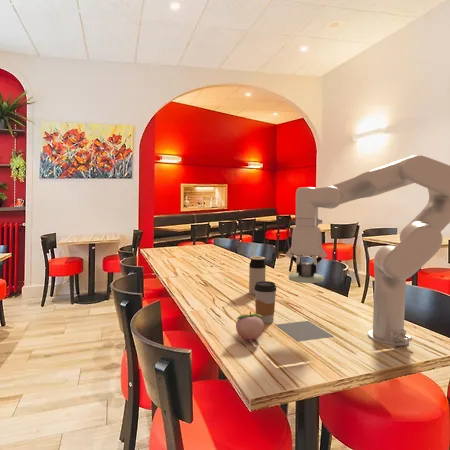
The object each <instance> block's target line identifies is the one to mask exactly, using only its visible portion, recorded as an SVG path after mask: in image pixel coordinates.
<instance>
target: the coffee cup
mask: <svg viewBox="0 0 450 450" xmlns="http://www.w3.org/2000/svg"><path fill="white" fill-rule="evenodd" d="M254 289H255V295H254V297H255V298H254V299H255V301H254V303H255V314H259V315H261V316H262V317H263V318H262V317H260V318H261V319H262V321H263V324H264V325H265V324H267V325H268V324H272V323H273V322H274V316H275V308H276V307H275V306H276V293H277V286H276V283H275V282H272V281H268V280H267V281H266V280H265V281H260V282H256V285H255V288H254Z"/></svg>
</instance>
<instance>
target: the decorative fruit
mask: <svg viewBox="0 0 450 450" xmlns="http://www.w3.org/2000/svg"><path fill="white" fill-rule="evenodd" d="M260 317H262V316H261V315H259V314H256V313H252V311H249V314H245V313H244V314H243V313H242V314H240V315H239V316H238V317H236V323H235V330H236V332H237V334H238V336H240V338H242V339H243V340H245V341H248V342H251V341H254V340H256V339H258V338H260V337H261V335H262V334H263V332H264V329H265V323H263V321H262V319H261V318H260ZM262 318H263V317H262Z"/></svg>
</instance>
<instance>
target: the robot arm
mask: <svg viewBox="0 0 450 450" xmlns="http://www.w3.org/2000/svg"><path fill="white" fill-rule="evenodd" d="M412 184H416V185H419V186H421V187H423V188H425V189H427V191H428V192H427V193H428V202H427V203H426V206H424V208H423V209H422V210H421V211H420V212H419V213H418V214H417V215H416V216H415V217H414V218H413V219H412V220H411V221H410V222H409V223H408V224H407V225H406V226H405V227H403V228H402V230H401V232H400V234H399V243H398V244H397V245H385V246H382V247H380V248H379V249H378V250H377V251H376V253H375V255H374V259H373V270H374V289H373V290H374V291H373V292H374V294H373V308H372V309H373V313H372V314H373V315H372V329H370V330H368V332H367V337H368V338H369V339H371V340H372V341H374V342H377V343H380V344H384V345H388V346H393V347H402V346H407V345H409V344H410V342H411V341H412V340H413V338H412V336H410V335H407V329H405V312H406V311H405V310H406V309H405V308H406V297H407V296H406V294H407V293H406V292H407V283H406V282H407V281H406V280H407V279H410V278H411V277H413V276H414V275H415V274H416V273H417V272H418V271H419V270H420V269H421V268H423V266H424V265H425V264H427V263H428V262H429V261H430V260H431V259H432V258H433V257H434V256H435V255H436V254H437V253H438V252H439V250H440V249H441V247H442V244H443V235H442V231H443V230H444V229H445V228H446V227H447V226H448V225H449V224H450V164H447V163H444V162H441V161H438V160H437V159H434V158H431V157H429V156H424V155H419V154H416V155H415V154H414V155H411V156H409V157H406V158H403V159H399V160H397V161H393V162H391V163H389V164H388V163H387V164H385V165H383V166H380V167H379V166H378V167H375V168H373V169H370V170H368V171H365V172H362V173H360V174H359V175H356V176H354V177H352V178H350V179H347V180H343V181H341V182H338V183H336V184H335V183H334V184H333V185H329V186H322V187H313V186H307V187H306V186H305V187H304V186H303V187H297V189H296V191H295V226H293V228H292V232H291V233H292V234H291V246H290V248H289V249H288V250H287V252H286V253H285V254H286V255H285V256H286V257H287V258H289V259H291V260H292V261H293V262H294V263H295V265H296V273H298V275H299V276H301V264H300V263H301V256H302V257H312V262H311V263H312V276H314V274H317V265H318V263H320V262H321V261H322V260H324V259H325V258H326V257H328V254H327V253H326V251H325V249H324V248H323V246H322V234H321V233H322V232H321V231H322V230H321V227H320V226H319V225H322V224H323V219H320V218H319V208H321V209H330V210H331V209H336V208H337V207H339V206H340V205H344V204H345V203H348V202H352V201H355V200H359V199H364V198H365V199H366V198H371V197H374V196H379V195H382V194H385V193H388V192H391V191H394V190H397V189H400V188H402V187H407V186H409V185H412Z"/></svg>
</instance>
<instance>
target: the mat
mask: <svg viewBox="0 0 450 450" xmlns="http://www.w3.org/2000/svg"><path fill="white" fill-rule="evenodd" d="M275 326H277V328H279V329H280V330H282V331H283V332H284V333H286V335H288V336H290V337H291V338H292V339H294V340H295V341H296V342H303V341H304V342H305V341H311V340H319V339H325V338H334V337H335V336H334V335H333V334H331V333H329V332H328V331H327V330H324V329H323V328H322V327H319V326H318V325H316V324H314V323H313V322H311V321H310V320H303V321H294V322H287V323H286V322H285V323H277V324H275Z"/></svg>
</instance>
